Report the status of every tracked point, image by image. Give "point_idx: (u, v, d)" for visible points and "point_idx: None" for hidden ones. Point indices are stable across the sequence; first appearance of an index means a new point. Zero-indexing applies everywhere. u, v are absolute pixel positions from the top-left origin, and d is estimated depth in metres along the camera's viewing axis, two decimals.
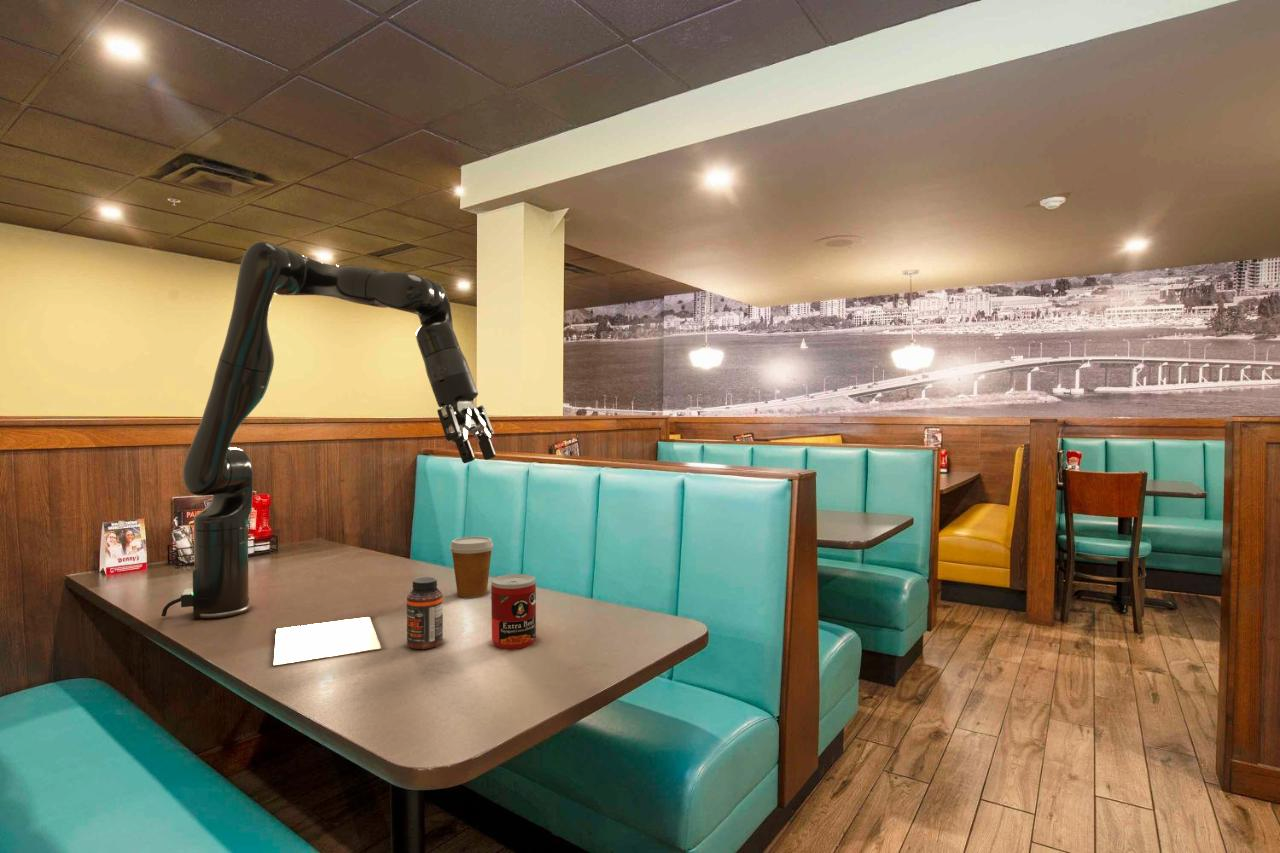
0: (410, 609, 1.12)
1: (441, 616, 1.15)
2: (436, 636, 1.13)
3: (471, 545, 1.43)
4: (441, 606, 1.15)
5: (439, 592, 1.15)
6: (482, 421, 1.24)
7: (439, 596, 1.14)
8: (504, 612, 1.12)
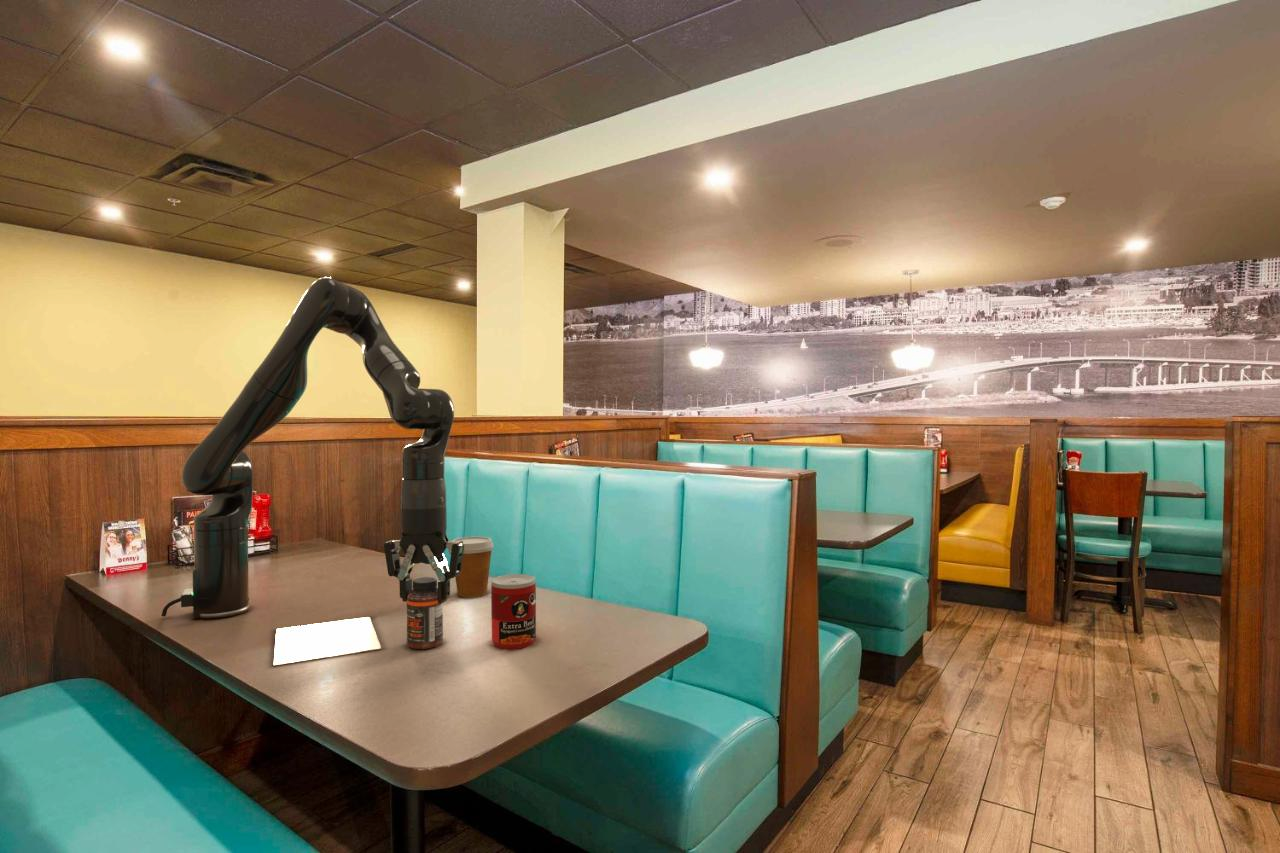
0: (410, 609, 1.12)
1: (441, 616, 1.15)
2: (436, 636, 1.13)
3: (471, 545, 1.43)
4: (441, 606, 1.15)
5: None
6: (432, 562, 1.13)
7: None
8: (504, 612, 1.12)
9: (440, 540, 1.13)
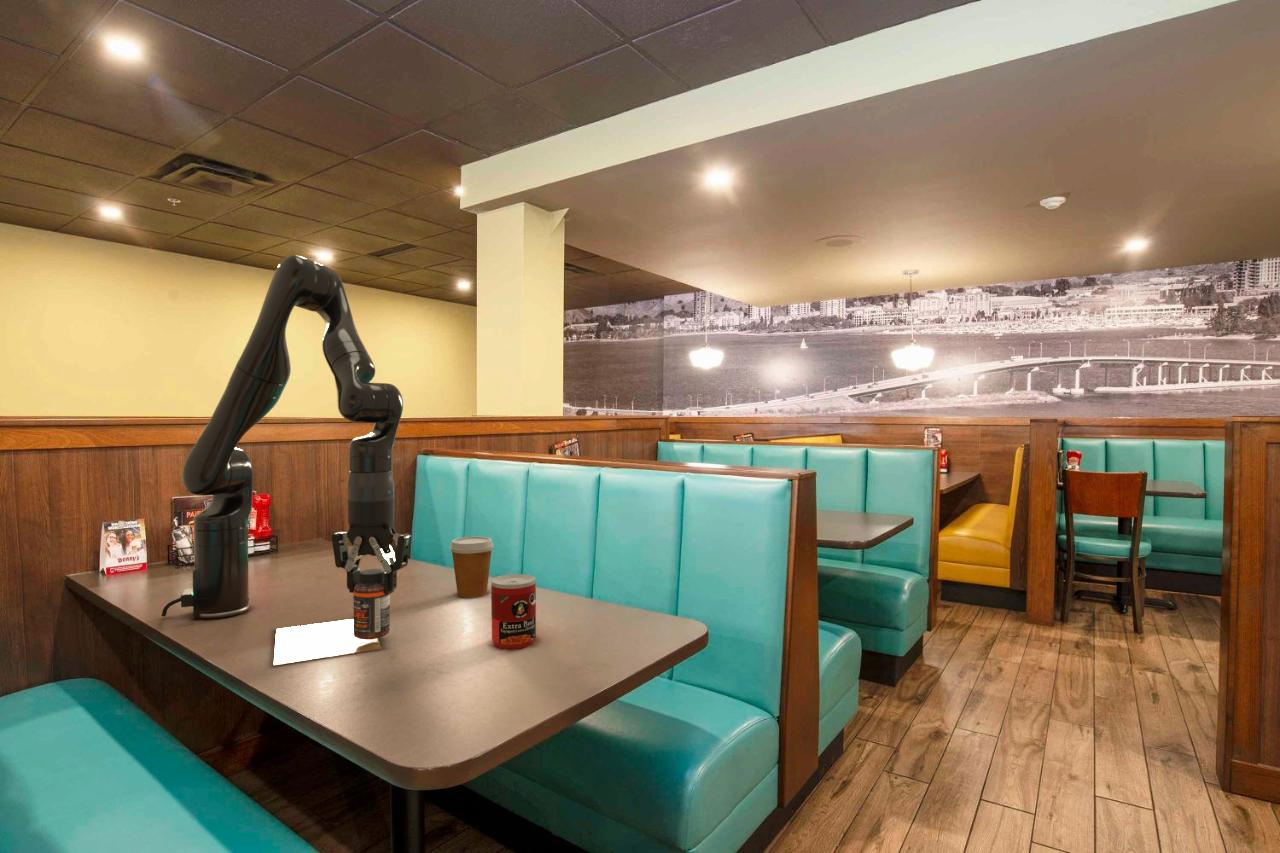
0: (356, 600, 1.14)
1: (388, 607, 1.16)
2: (381, 627, 1.15)
3: (471, 545, 1.43)
4: (388, 597, 1.16)
5: None
6: (378, 553, 1.14)
7: None
8: (504, 612, 1.12)
9: (386, 532, 1.15)
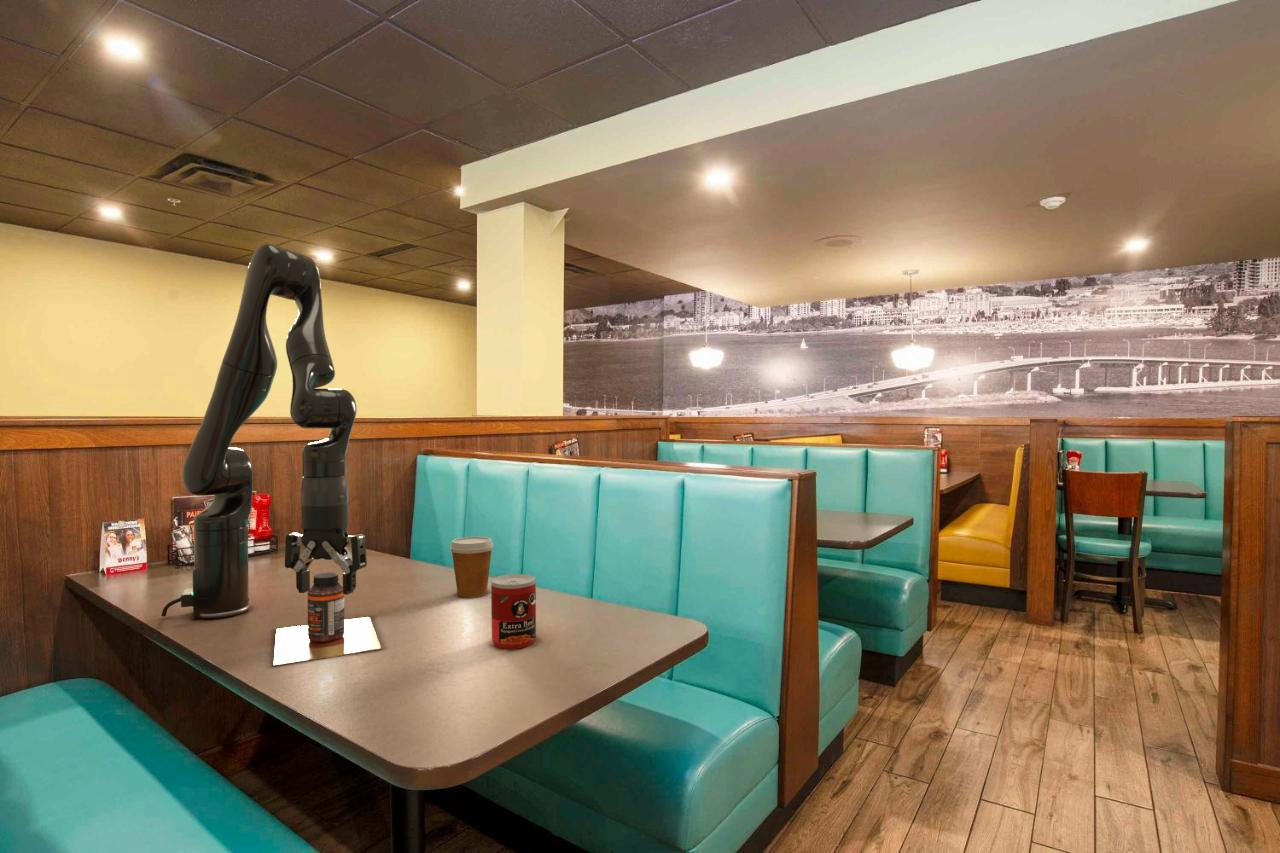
0: (310, 603, 1.15)
1: (342, 610, 1.17)
2: (335, 630, 1.16)
3: (471, 545, 1.43)
4: (342, 601, 1.17)
5: (340, 587, 1.18)
6: (334, 556, 1.15)
7: (340, 591, 1.17)
8: (504, 612, 1.12)
9: (339, 536, 1.16)
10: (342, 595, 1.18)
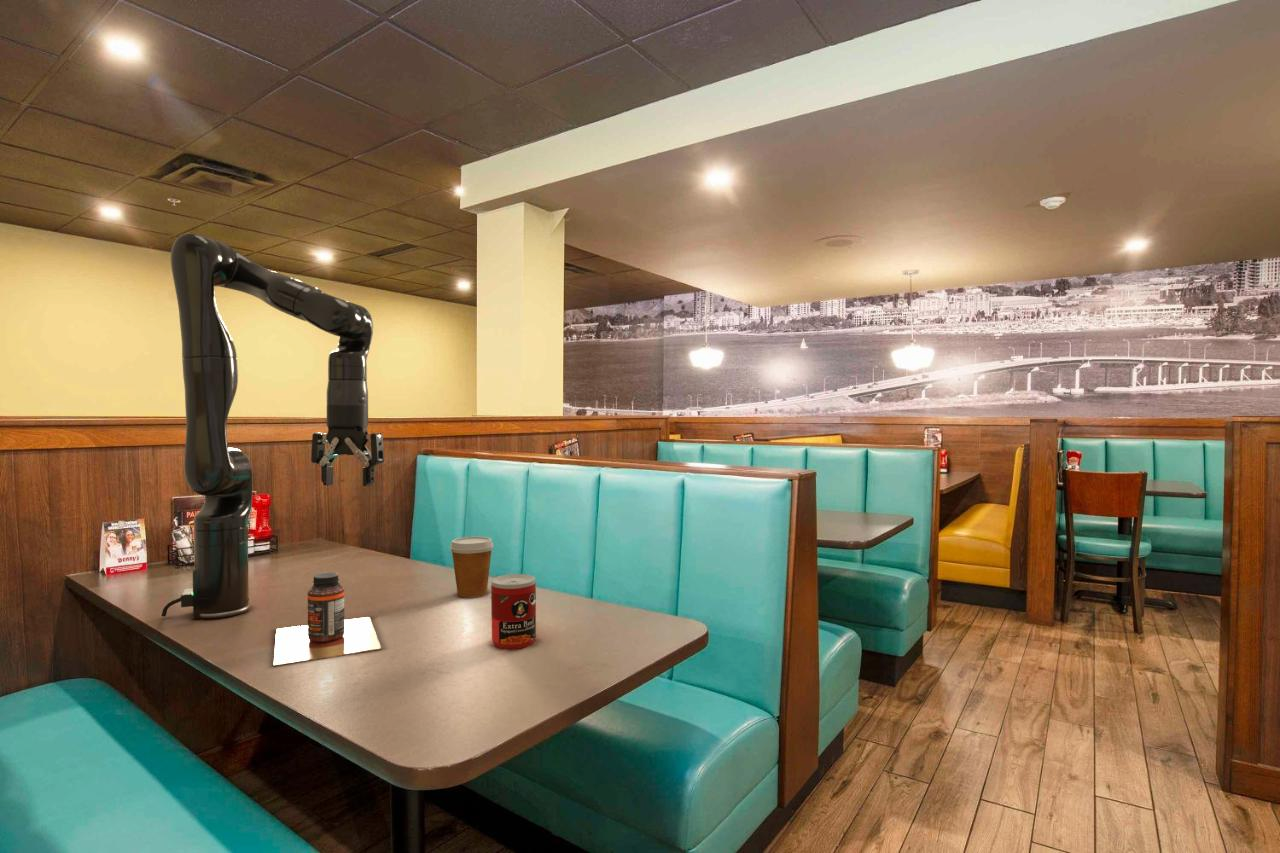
0: (310, 603, 1.15)
1: (342, 610, 1.17)
2: (335, 630, 1.16)
3: (471, 545, 1.43)
4: (342, 601, 1.17)
5: (340, 587, 1.18)
6: (355, 451, 1.29)
7: (340, 591, 1.17)
8: (504, 612, 1.12)
9: (360, 433, 1.29)
10: (342, 595, 1.18)
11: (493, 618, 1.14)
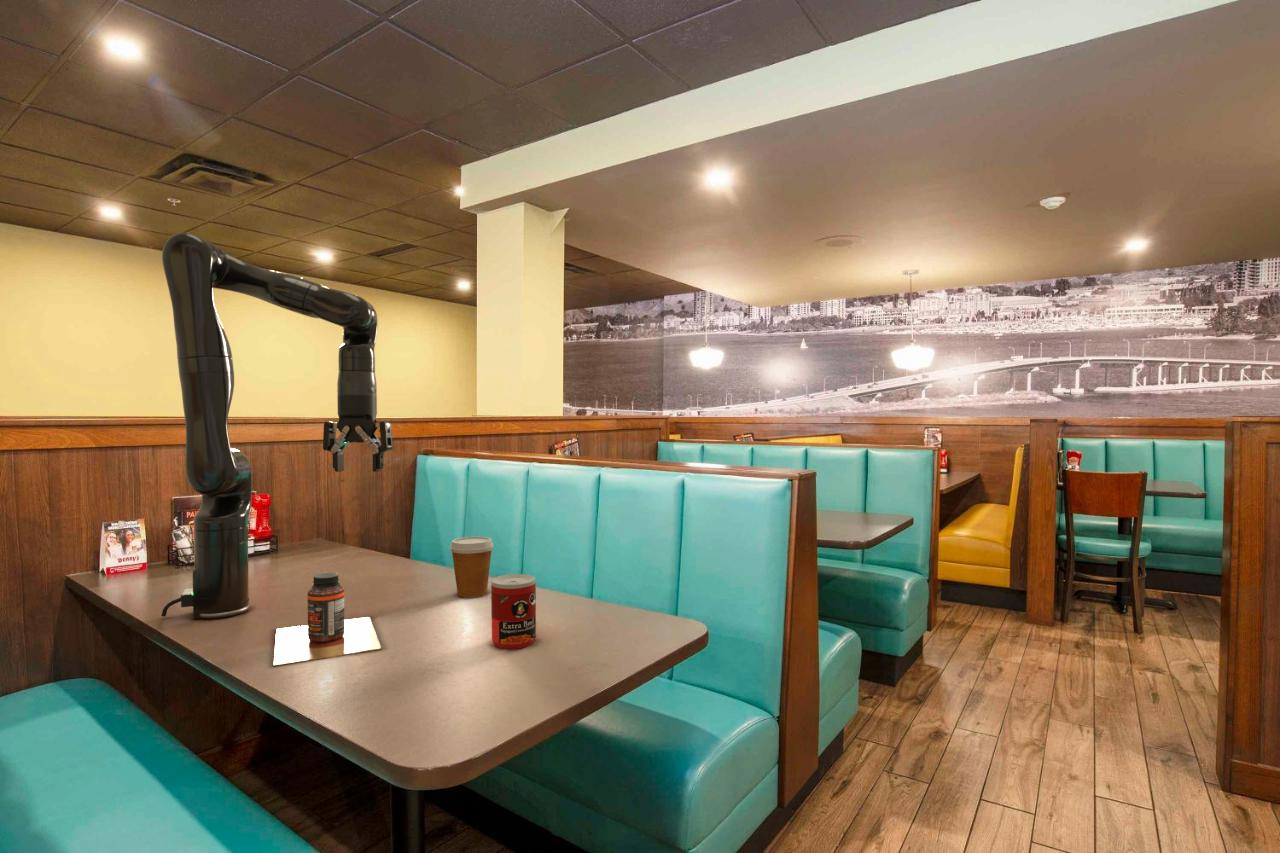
0: (310, 603, 1.15)
1: (342, 610, 1.17)
2: (335, 630, 1.16)
3: (471, 545, 1.43)
4: (342, 601, 1.17)
5: (340, 587, 1.18)
6: (365, 438, 1.36)
7: (340, 591, 1.17)
8: (504, 612, 1.12)
9: (369, 422, 1.36)
10: (342, 595, 1.18)
11: (493, 618, 1.14)
